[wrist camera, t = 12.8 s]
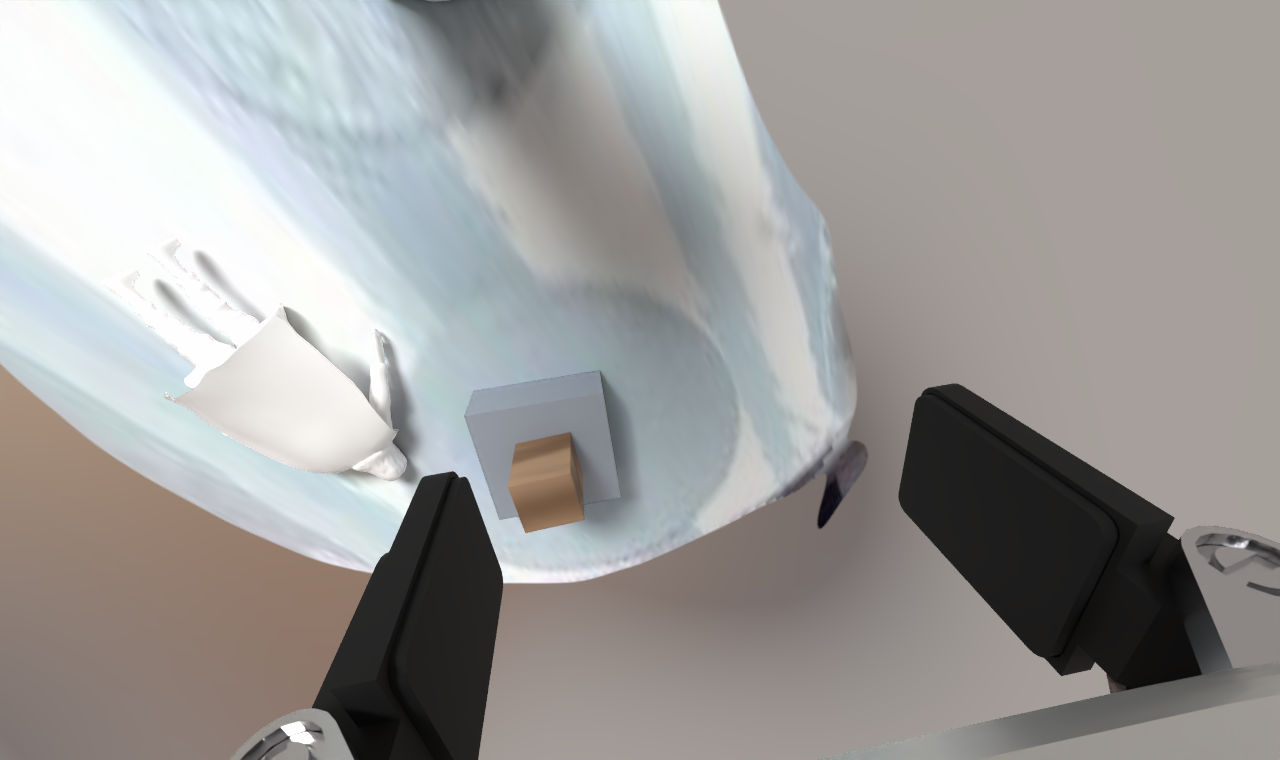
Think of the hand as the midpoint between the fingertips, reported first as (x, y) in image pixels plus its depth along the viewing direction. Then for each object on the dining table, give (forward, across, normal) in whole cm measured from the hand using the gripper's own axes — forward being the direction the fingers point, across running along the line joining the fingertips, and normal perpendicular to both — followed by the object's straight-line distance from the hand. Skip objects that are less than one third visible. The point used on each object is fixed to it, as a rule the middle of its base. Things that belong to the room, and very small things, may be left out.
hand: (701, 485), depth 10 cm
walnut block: (+29, +8, +19) cm, 35 cm away
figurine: (+34, +28, +9) cm, 45 cm away
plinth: (+34, +8, +19) cm, 40 cm away
